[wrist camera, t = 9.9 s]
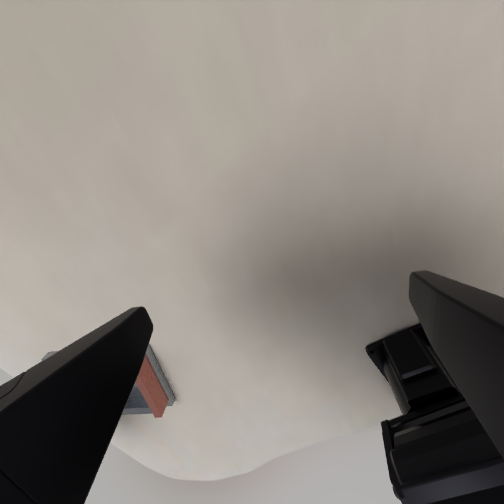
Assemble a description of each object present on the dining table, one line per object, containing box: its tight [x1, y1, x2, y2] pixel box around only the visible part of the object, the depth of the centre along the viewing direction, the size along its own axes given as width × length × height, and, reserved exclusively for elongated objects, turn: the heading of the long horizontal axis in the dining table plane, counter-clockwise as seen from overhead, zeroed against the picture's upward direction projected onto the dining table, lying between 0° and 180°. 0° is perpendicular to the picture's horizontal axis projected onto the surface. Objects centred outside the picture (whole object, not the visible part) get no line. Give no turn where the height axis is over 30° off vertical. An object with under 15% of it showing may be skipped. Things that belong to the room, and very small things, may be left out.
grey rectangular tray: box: [42, 345, 175, 418], centre depth 30 cm, size 13×9×3 cm
